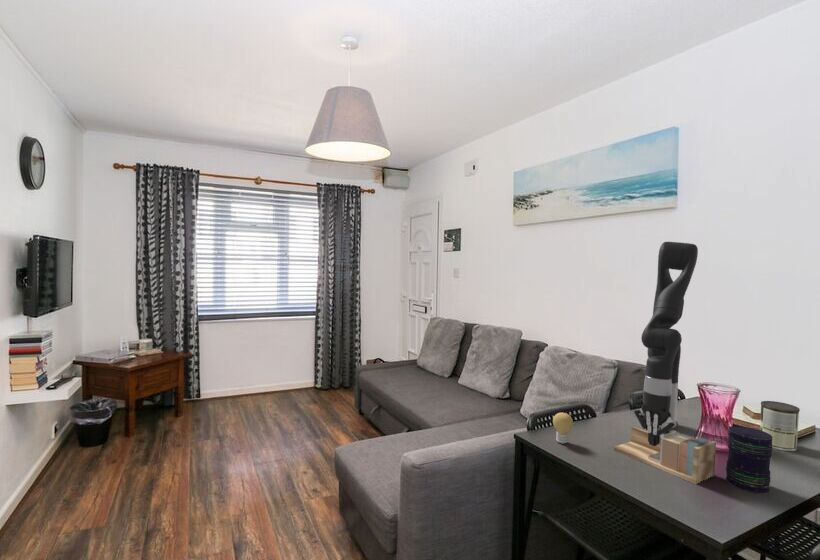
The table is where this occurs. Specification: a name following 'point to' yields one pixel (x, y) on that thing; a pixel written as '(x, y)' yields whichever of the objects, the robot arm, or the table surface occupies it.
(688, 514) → the table surface
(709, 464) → the rack
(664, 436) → the bookend
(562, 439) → the light bulb
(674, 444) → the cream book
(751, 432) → the storage jar
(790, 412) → the coffee can
